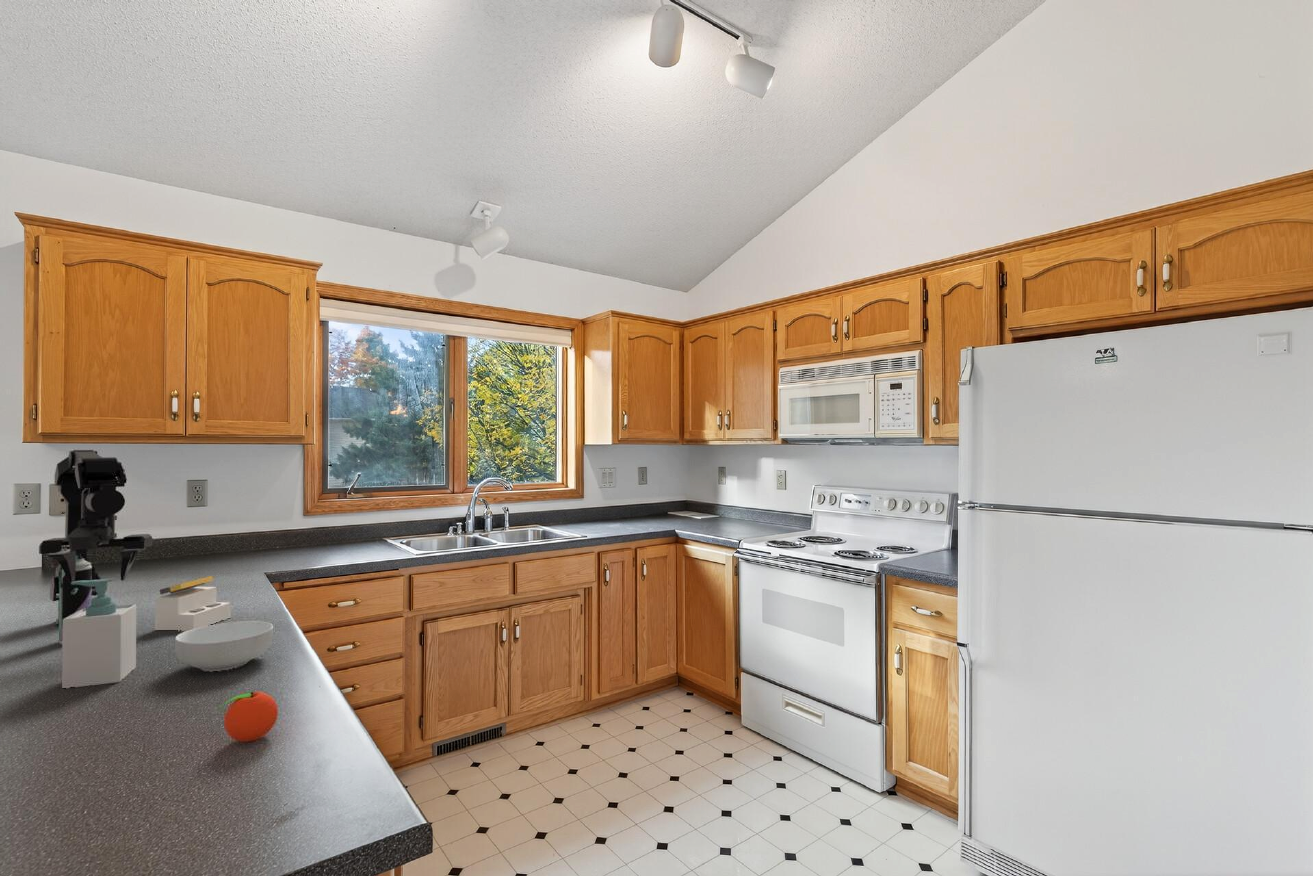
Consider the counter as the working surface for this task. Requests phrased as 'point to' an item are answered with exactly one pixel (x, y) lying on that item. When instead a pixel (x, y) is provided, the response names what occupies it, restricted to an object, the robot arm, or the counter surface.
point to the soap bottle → (98, 641)
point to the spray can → (74, 592)
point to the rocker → (186, 585)
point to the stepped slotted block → (190, 609)
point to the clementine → (250, 716)
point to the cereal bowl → (223, 644)
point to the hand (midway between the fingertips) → (97, 581)
